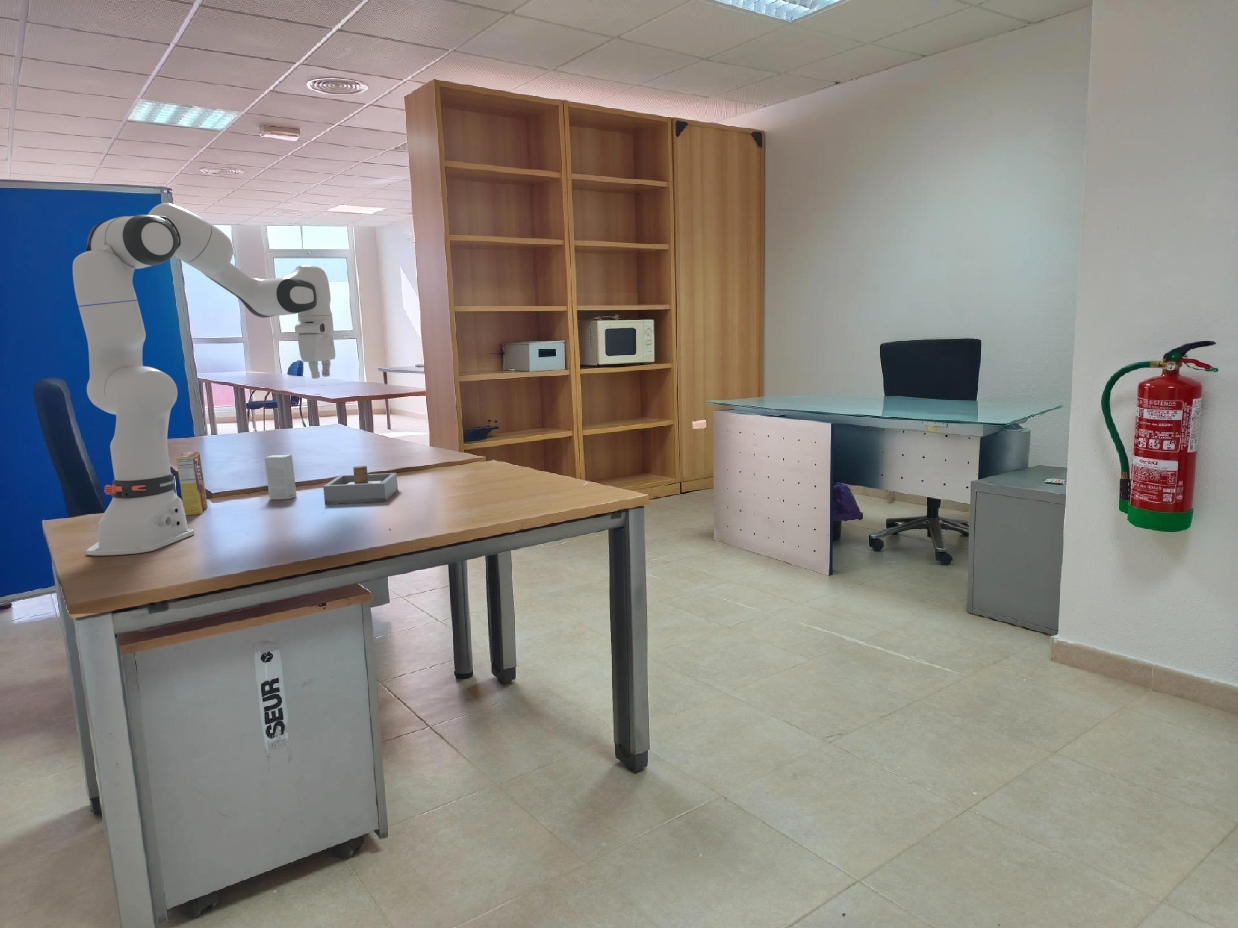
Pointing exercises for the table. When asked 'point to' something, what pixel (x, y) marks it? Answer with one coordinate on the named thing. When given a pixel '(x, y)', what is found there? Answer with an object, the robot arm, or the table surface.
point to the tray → (360, 489)
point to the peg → (360, 474)
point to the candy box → (192, 483)
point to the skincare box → (280, 477)
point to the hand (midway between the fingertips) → (321, 377)
